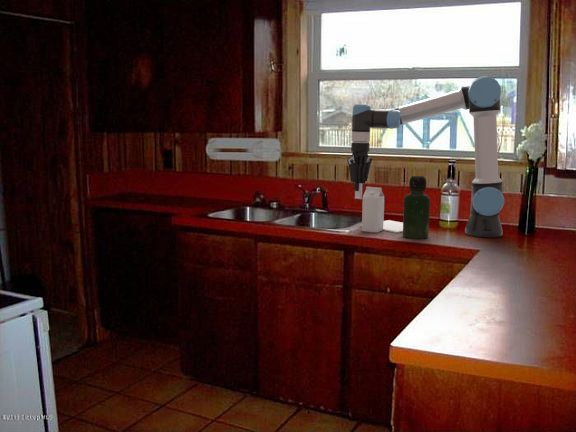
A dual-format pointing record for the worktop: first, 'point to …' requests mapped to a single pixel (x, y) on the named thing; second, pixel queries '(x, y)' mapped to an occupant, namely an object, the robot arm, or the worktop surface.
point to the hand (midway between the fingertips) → (358, 198)
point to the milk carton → (373, 210)
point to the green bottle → (416, 210)
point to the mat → (392, 226)
